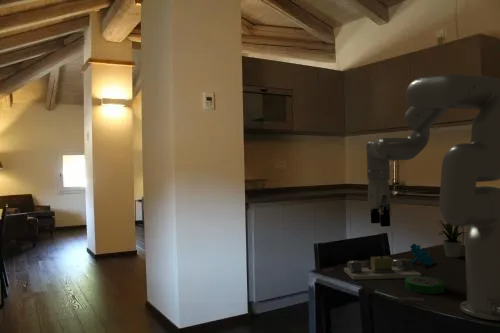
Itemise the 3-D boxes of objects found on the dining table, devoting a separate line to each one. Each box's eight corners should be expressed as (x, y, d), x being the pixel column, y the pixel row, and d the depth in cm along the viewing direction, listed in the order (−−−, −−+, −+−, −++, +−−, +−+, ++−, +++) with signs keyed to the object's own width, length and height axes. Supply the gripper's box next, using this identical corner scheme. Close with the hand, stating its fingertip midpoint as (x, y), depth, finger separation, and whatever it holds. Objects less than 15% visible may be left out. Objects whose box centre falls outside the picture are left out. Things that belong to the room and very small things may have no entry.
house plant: (423, 254, 171) (422, 216, 171) (444, 251, 178) (443, 214, 178) (454, 261, 159) (453, 219, 159) (476, 256, 165) (474, 216, 165)
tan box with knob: (374, 272, 139) (374, 258, 139) (371, 269, 143) (370, 256, 143) (392, 271, 139) (391, 257, 139) (387, 269, 143) (387, 255, 143)
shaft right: (397, 271, 139) (397, 261, 139) (389, 268, 143) (389, 259, 143) (414, 269, 141) (414, 260, 141) (406, 267, 145) (406, 257, 145)
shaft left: (366, 269, 143) (366, 259, 143) (370, 272, 139) (370, 262, 139) (346, 270, 143) (346, 260, 143) (350, 273, 138) (349, 263, 139)
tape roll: (449, 288, 124) (448, 279, 124) (438, 297, 115) (438, 287, 115) (412, 282, 131) (411, 274, 131) (399, 290, 123) (399, 281, 123)
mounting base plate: (421, 277, 135) (421, 271, 135) (353, 279, 135) (353, 273, 135) (406, 269, 147) (406, 263, 147) (343, 270, 147) (343, 265, 147)
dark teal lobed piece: (424, 264, 147) (408, 242, 154) (413, 273, 150) (397, 251, 157) (440, 263, 154) (423, 242, 160) (429, 272, 157) (413, 252, 163)
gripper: (360, 176, 150) (362, 222, 149) (376, 175, 133) (378, 228, 132) (380, 175, 150) (382, 221, 150) (398, 175, 133) (400, 227, 132)
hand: (380, 224), depth 141 cm, fingers open, 9 cm apart
